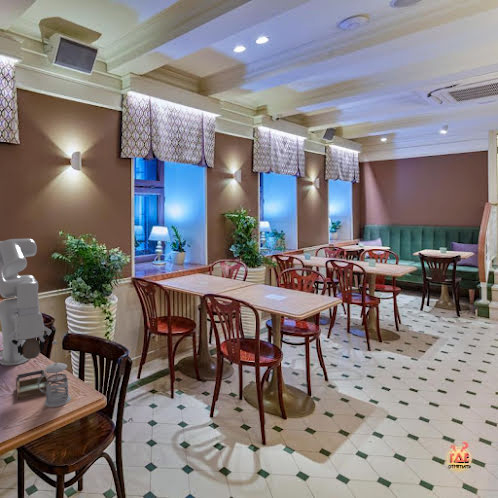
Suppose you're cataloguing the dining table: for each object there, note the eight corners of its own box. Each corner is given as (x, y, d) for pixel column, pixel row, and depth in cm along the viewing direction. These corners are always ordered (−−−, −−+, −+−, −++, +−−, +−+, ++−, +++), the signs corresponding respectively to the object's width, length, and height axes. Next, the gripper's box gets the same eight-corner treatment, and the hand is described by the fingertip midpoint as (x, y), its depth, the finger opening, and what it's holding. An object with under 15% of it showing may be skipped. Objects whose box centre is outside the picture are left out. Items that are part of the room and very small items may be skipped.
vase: (32, 361, 154) (31, 340, 153) (18, 359, 155) (16, 339, 154) (44, 354, 161) (43, 334, 160) (30, 353, 162) (29, 333, 161)
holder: (17, 388, 161) (17, 381, 160) (48, 381, 167) (47, 375, 166) (17, 400, 151) (17, 393, 150) (50, 392, 157) (50, 385, 157)
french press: (74, 401, 150) (71, 341, 147) (42, 411, 143) (38, 348, 140) (67, 391, 158) (64, 334, 155) (36, 401, 150) (32, 341, 147)
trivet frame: (17, 376, 171) (17, 374, 171) (43, 371, 176) (43, 369, 176) (17, 386, 162) (17, 384, 162) (45, 380, 167) (45, 378, 167)
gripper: (3, 316, 148) (6, 359, 150) (53, 309, 158) (55, 350, 159) (3, 312, 154) (6, 353, 156) (51, 305, 164) (53, 345, 166)
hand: (31, 351), depth 158 cm, fingers closed on vase, 6 cm apart
